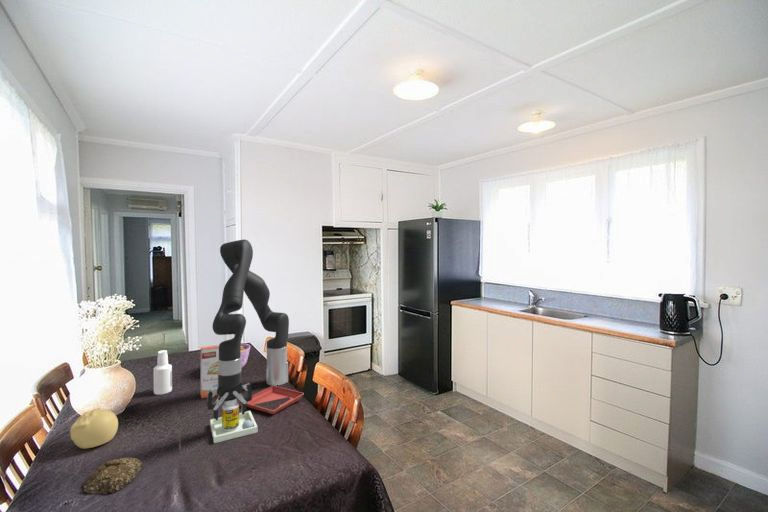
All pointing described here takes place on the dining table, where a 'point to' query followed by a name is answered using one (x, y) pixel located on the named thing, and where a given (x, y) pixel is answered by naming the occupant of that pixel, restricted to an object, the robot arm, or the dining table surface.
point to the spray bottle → (162, 374)
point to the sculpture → (94, 428)
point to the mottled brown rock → (112, 475)
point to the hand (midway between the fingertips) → (229, 416)
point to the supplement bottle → (230, 415)
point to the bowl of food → (244, 353)
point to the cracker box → (209, 369)
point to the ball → (247, 424)
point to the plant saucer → (273, 398)
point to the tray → (223, 435)
